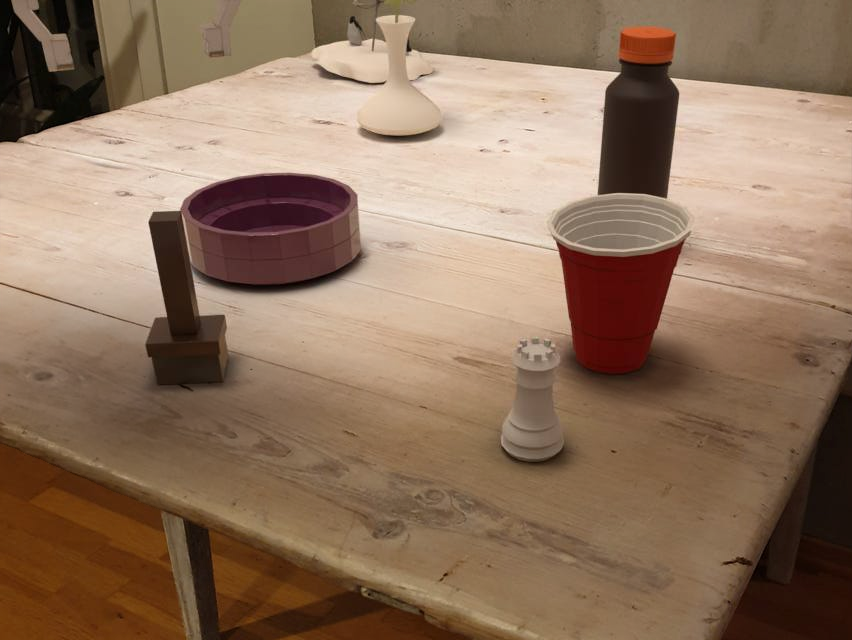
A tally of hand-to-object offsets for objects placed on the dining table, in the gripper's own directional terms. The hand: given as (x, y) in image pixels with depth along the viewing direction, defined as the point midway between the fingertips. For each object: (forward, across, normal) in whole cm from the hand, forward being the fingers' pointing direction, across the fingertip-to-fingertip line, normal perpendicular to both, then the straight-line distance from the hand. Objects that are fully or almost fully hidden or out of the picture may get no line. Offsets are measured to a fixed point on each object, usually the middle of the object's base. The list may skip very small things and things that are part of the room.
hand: (141, 61), depth 60 cm
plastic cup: (+24, -31, +8) cm, 40 cm away
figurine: (+24, -44, -90) cm, 103 cm away
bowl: (+24, -12, -23) cm, 35 cm away
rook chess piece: (+24, -20, +17) cm, 35 cm away
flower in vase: (+24, -37, -58) cm, 73 cm away
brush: (+24, 0, -3) cm, 24 cm away
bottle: (+24, -45, -12) cm, 52 cm away
